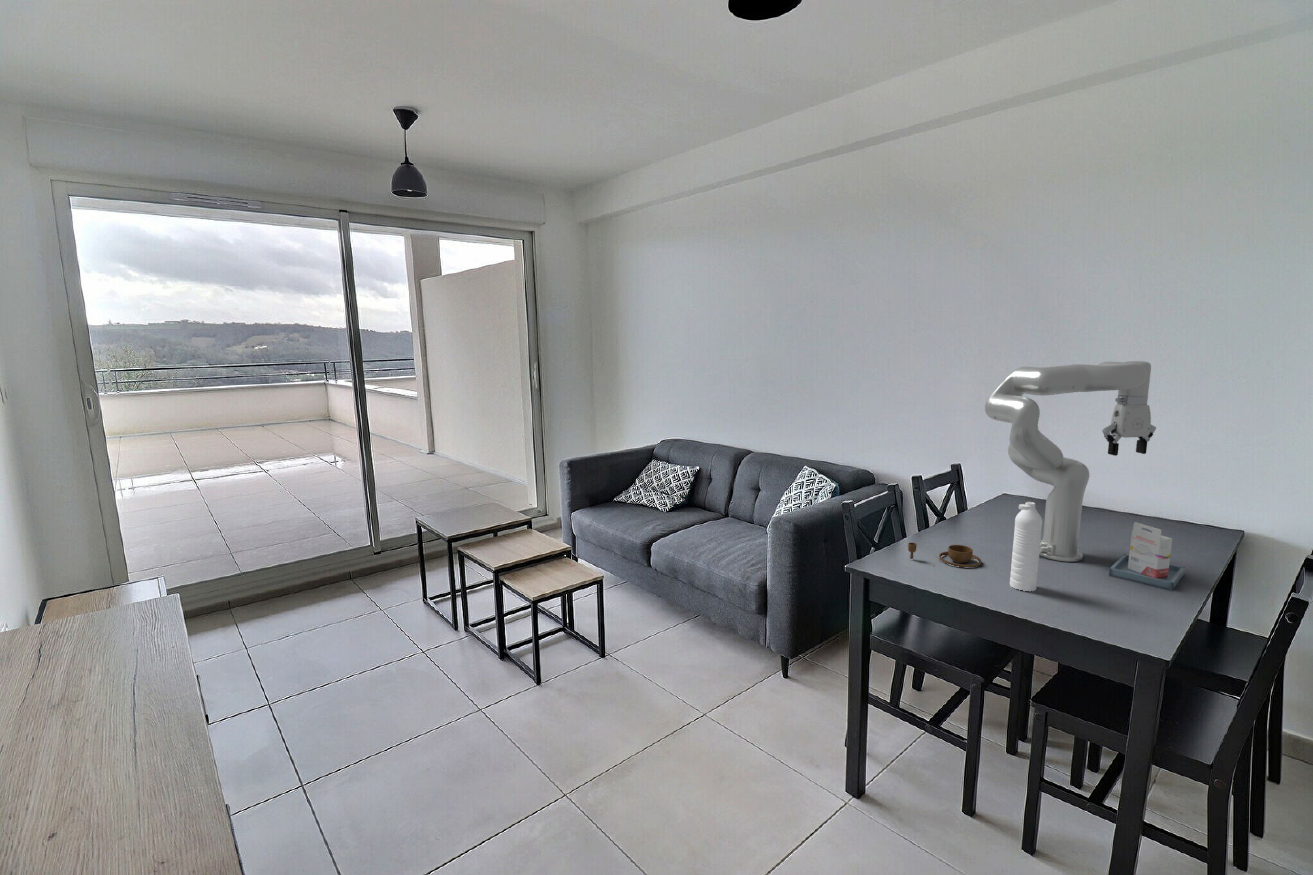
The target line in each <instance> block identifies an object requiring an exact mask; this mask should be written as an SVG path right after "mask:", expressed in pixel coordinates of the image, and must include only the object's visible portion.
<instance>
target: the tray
mask: <svg viewBox="0 0 1313 875" xmlns="http://www.w3.org/2000/svg"><path fill="white" fill-rule="evenodd" d="M1128 560H1129V554H1123V555H1122V556H1121V557H1120V558H1118V559H1117V561H1116V562H1115V563H1114V564H1112V566H1110V568H1109V570H1108V576H1109V577H1113V576H1114V577H1113V578H1117V579H1120V580H1121V579H1122V580H1126V581H1129V580H1130V582H1135V583H1139V584H1142V585H1143V584H1144V585H1145V586H1146V585H1147V586H1149V587H1155V588H1159V589H1163V590H1168V591H1174V589H1175V588H1176V586H1177V585H1178V584H1179V582H1180V581H1181V580H1182V578H1183V576H1184V575H1185V572H1186V571H1185V570H1186V567H1185V566H1182V565H1178V564H1171V563H1170V564H1169V572H1168V577H1164V578H1152V577H1149V576H1147V575H1144V574H1141V573H1139V572H1136V571H1133V570H1130V569H1128Z"/></svg>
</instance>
